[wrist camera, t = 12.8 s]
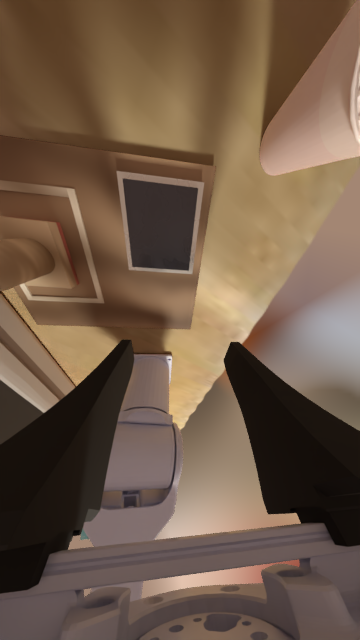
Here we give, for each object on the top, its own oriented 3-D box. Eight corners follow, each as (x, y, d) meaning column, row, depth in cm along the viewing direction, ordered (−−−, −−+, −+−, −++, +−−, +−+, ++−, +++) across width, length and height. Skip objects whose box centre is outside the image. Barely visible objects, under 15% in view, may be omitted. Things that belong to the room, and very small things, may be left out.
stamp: (79, 283, 16) (40, 308, 11) (38, 280, 16) (-22, 305, 11) (59, 222, 13) (-9, 219, 8) (6, 216, 12) (-101, 210, 8)
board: (189, 326, 22) (190, 329, 21) (41, 321, 20) (36, 325, 19) (213, 169, 12) (216, 165, 11) (-75, 128, 10) (-96, 120, 9)
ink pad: (191, 271, 16) (192, 275, 15) (131, 267, 16) (128, 270, 14) (201, 185, 12) (205, 181, 11) (120, 174, 11) (114, 169, 10)
